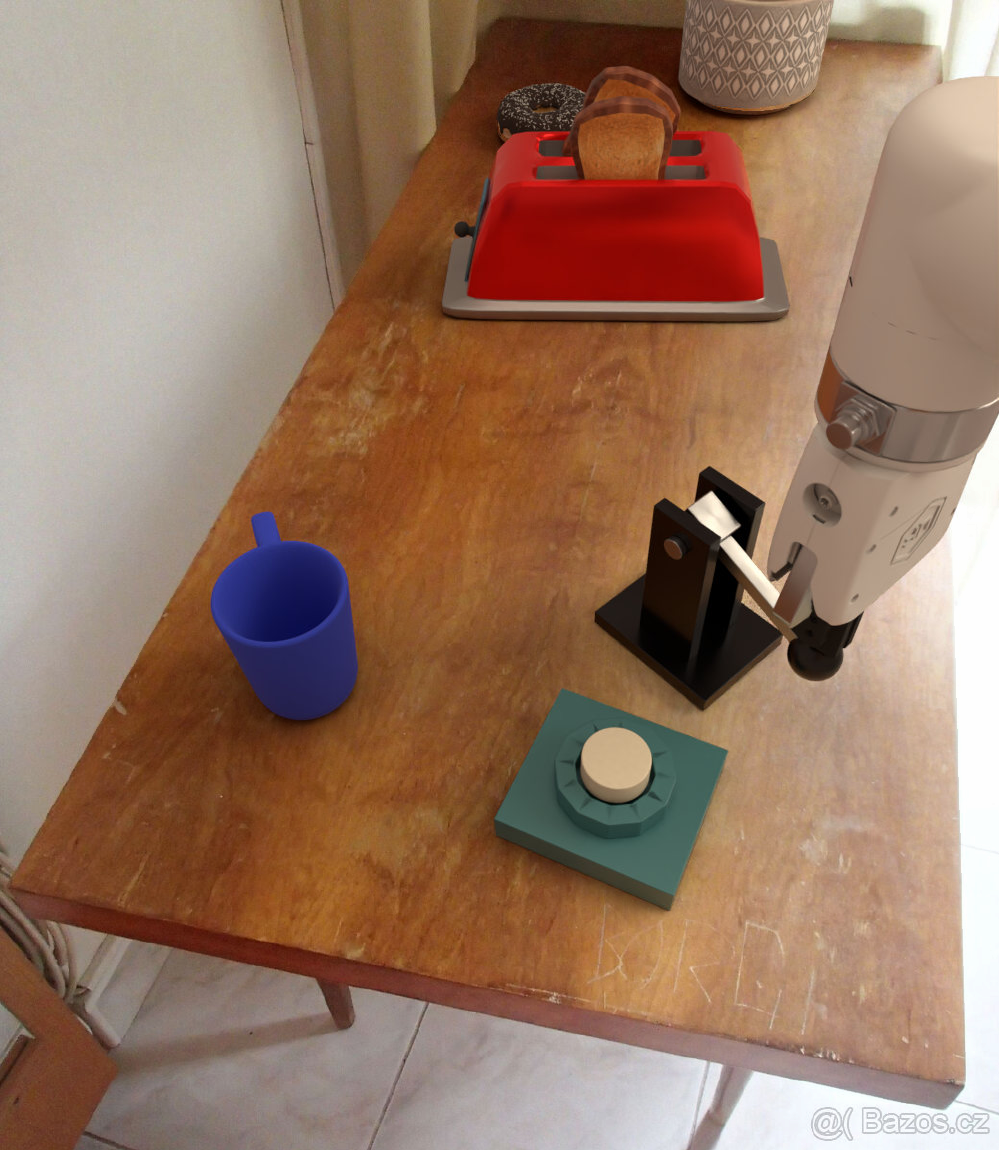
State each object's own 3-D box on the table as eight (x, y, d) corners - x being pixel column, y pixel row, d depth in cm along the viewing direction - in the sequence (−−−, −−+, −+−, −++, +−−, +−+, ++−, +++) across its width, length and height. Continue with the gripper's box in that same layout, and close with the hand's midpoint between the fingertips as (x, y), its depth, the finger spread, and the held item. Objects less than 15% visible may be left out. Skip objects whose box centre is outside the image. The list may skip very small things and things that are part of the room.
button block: (723, 767, 62) (733, 734, 58) (670, 911, 56) (677, 882, 53) (561, 705, 65) (562, 671, 62) (495, 835, 59) (492, 804, 56)
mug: (343, 582, 72) (319, 484, 65) (383, 715, 65) (361, 623, 57) (231, 612, 71) (193, 516, 63) (259, 751, 63) (219, 662, 56)
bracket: (780, 643, 67) (821, 514, 58) (702, 711, 64) (731, 587, 54) (671, 562, 72) (691, 431, 63) (593, 621, 69) (601, 493, 59)
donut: (477, 132, 116) (475, 98, 113) (556, 102, 120) (556, 68, 117) (536, 168, 110) (535, 133, 107) (616, 135, 114) (618, 100, 111)
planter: (816, 65, 124) (839, -49, 114) (812, 127, 114) (837, 7, 104) (685, 57, 127) (696, -55, 117) (669, 116, 117) (680, -1, 107)
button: (659, 757, 58) (661, 741, 57) (634, 814, 56) (637, 799, 54) (595, 732, 59) (597, 717, 58) (569, 787, 57) (570, 772, 56)
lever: (834, 667, 60) (864, 652, 57) (802, 697, 59) (831, 684, 56) (697, 504, 62) (720, 482, 59) (662, 530, 61) (684, 509, 58)
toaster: (441, 321, 92) (421, 121, 78) (453, 245, 100) (438, 52, 86) (789, 324, 90) (835, 119, 76) (773, 246, 98) (812, 48, 84)
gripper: (880, 521, 38) (789, 756, 52) (1078, 354, 44) (949, 605, 58) (730, 426, 42) (683, 670, 56) (931, 284, 48) (843, 536, 62)
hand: (818, 636), depth 57 cm, fingers closed
